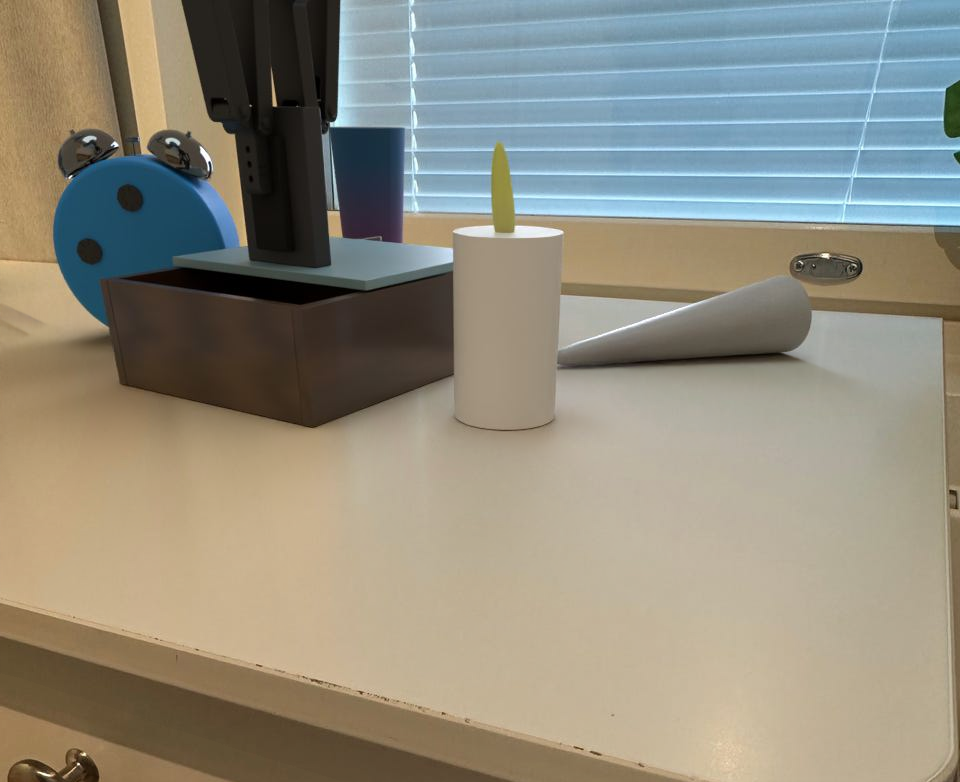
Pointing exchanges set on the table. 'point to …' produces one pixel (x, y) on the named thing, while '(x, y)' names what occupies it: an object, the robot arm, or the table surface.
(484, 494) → the table surface
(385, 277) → the upright panel on base
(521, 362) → the candle
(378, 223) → the cup
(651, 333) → the long tapered cone
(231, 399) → the display box
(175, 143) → the alarm clock
